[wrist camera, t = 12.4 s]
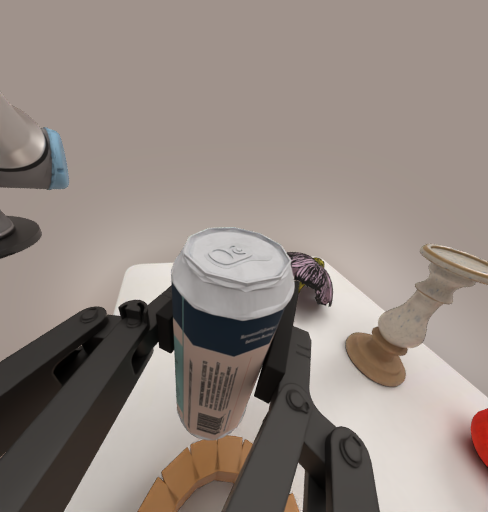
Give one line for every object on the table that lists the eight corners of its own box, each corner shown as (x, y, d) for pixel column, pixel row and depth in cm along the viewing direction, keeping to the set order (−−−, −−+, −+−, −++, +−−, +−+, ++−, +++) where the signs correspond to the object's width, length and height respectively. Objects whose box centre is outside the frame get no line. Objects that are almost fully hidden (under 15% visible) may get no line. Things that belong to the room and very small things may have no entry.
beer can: (260, 401, 13) (325, 262, 7) (202, 468, 10) (233, 323, 4) (219, 350, 16) (241, 218, 10) (164, 391, 13) (146, 233, 7)
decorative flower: (370, 282, 34) (304, 253, 29) (338, 334, 36) (272, 314, 32) (323, 258, 47) (273, 236, 43) (301, 297, 50) (252, 279, 45)
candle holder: (409, 399, 27) (553, 297, 16) (346, 368, 29) (436, 262, 19) (394, 349, 34) (487, 256, 23) (344, 328, 36) (408, 234, 26)
